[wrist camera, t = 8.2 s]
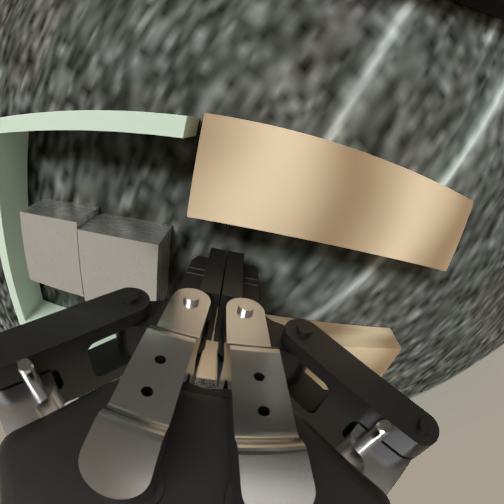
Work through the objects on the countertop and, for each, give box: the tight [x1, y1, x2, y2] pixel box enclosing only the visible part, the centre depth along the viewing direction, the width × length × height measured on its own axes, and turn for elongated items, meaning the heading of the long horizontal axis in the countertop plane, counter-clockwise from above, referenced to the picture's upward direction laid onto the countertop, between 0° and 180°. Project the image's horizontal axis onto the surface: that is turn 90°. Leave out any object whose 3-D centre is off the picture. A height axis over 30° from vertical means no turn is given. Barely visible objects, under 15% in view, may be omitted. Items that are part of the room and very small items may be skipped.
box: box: [0, 110, 199, 349], centre depth 12 cm, size 11×13×2 cm
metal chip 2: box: [77, 213, 172, 301], centre depth 12 cm, size 4×4×2 cm
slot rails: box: [187, 113, 474, 390], centre depth 13 cm, size 13×14×2 cm
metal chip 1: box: [20, 198, 100, 297], centre depth 12 cm, size 4×4×2 cm
